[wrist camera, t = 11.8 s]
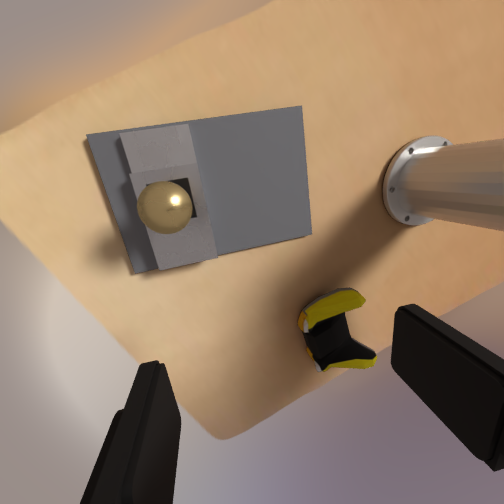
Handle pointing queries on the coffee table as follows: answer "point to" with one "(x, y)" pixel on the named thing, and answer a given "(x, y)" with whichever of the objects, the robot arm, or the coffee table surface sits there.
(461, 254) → the coffee table surface
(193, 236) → the grey slotted housing block
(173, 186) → the pin
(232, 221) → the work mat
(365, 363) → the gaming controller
